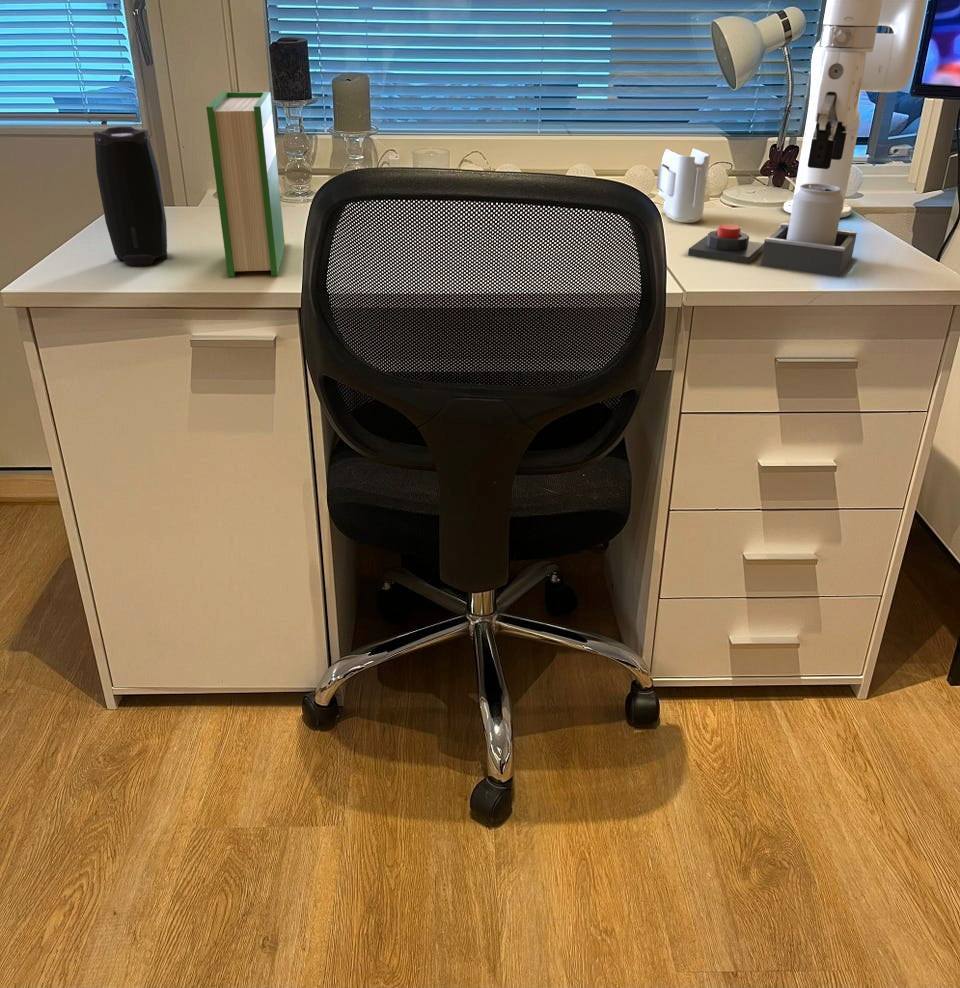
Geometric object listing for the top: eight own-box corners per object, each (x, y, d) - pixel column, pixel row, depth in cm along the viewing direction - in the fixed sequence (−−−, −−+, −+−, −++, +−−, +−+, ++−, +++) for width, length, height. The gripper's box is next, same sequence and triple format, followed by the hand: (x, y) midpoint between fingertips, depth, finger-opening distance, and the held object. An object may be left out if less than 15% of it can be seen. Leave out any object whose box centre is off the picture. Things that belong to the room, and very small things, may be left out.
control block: (705, 242, 162) (707, 225, 160) (763, 250, 158) (766, 232, 156) (687, 255, 154) (689, 237, 153) (748, 264, 150) (750, 245, 149)
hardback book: (277, 275, 142) (260, 106, 130) (228, 276, 141) (206, 107, 130) (284, 245, 157) (270, 91, 146) (240, 246, 157) (221, 92, 145)
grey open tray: (778, 249, 158) (782, 222, 156) (851, 258, 153) (857, 231, 151) (760, 266, 149) (764, 238, 147) (838, 277, 144) (843, 248, 142)
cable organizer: (682, 210, 183) (690, 145, 177) (708, 225, 173) (717, 157, 167) (650, 211, 182) (657, 146, 176) (675, 226, 171) (682, 158, 166)
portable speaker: (129, 251, 154) (107, 124, 144) (182, 254, 152) (163, 127, 142) (101, 265, 146) (76, 132, 137) (156, 269, 145) (134, 135, 135)
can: (833, 270, 147) (849, 192, 142) (784, 267, 149) (798, 189, 143) (828, 257, 154) (842, 182, 148) (781, 254, 155) (793, 180, 149)
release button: (720, 233, 157) (721, 223, 156) (741, 236, 155) (743, 225, 154) (714, 238, 154) (715, 227, 153) (735, 241, 152) (737, 230, 152)
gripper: (864, 43, 127) (839, 174, 135) (883, 38, 140) (859, 157, 149) (808, 41, 130) (787, 169, 138) (831, 36, 143) (811, 153, 152)
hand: (824, 163), depth 143 cm, fingers open, 9 cm apart
